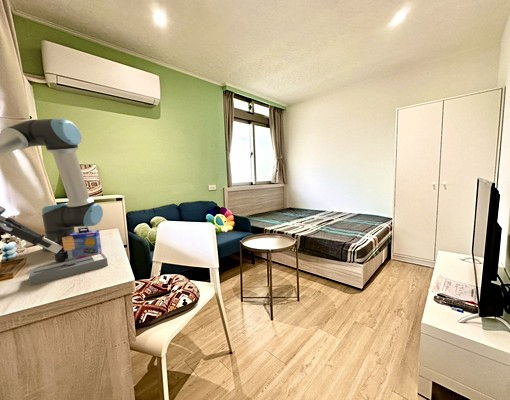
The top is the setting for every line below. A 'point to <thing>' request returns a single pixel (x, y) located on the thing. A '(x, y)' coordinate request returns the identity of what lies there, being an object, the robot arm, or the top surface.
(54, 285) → the top surface
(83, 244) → the ink cartridge box
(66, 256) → the supplement bottle
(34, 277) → the fader console
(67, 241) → the fader
